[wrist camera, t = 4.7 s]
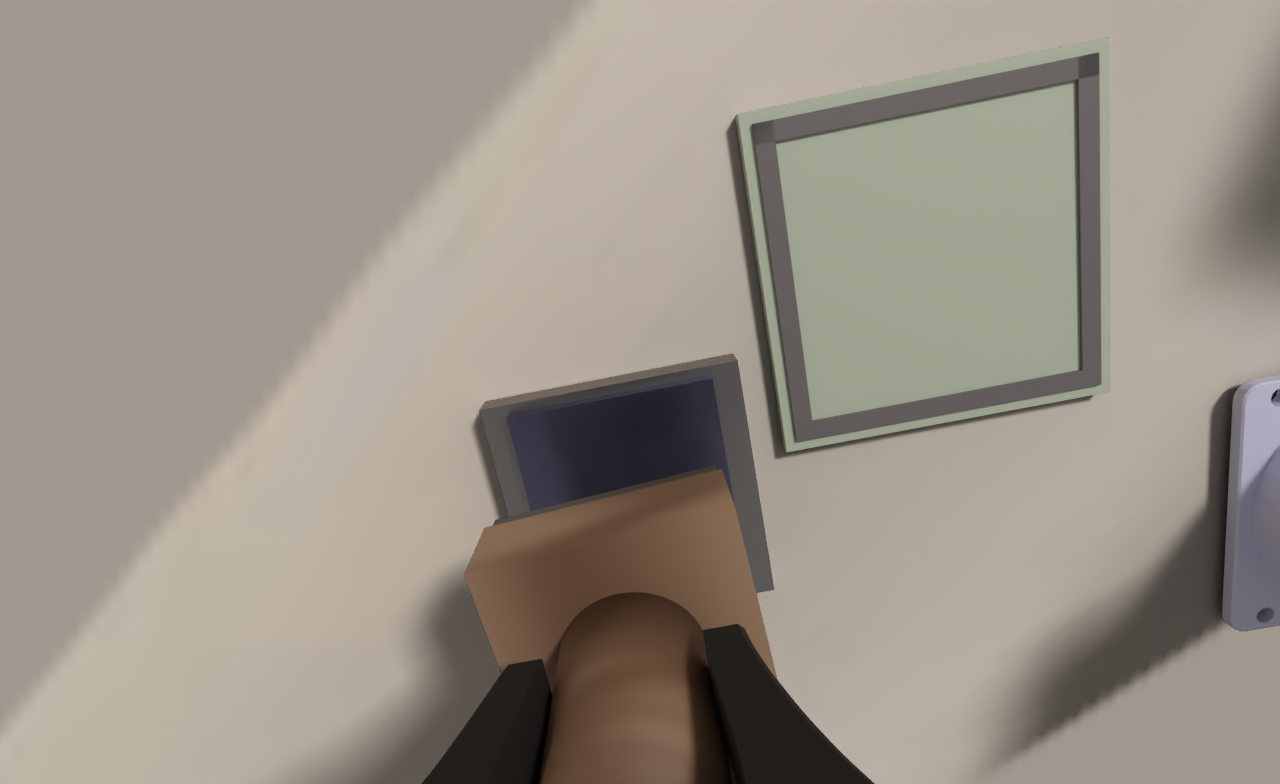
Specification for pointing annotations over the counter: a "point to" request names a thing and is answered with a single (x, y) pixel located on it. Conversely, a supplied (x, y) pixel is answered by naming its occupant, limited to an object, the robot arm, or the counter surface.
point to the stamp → (623, 624)
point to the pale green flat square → (934, 244)
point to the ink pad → (630, 441)
